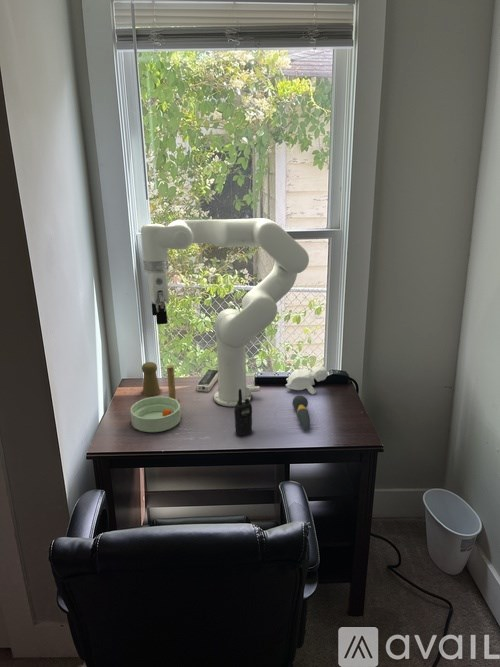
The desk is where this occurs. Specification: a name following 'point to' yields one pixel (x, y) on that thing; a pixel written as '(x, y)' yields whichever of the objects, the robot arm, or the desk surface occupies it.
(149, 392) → the cork
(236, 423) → the two-way radio
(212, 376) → the multiport hub
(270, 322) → the robot arm
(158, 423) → the bowl
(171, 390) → the muddler
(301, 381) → the white animal figurine
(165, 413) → the ball
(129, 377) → the desk surface
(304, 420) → the dark grey microphone
